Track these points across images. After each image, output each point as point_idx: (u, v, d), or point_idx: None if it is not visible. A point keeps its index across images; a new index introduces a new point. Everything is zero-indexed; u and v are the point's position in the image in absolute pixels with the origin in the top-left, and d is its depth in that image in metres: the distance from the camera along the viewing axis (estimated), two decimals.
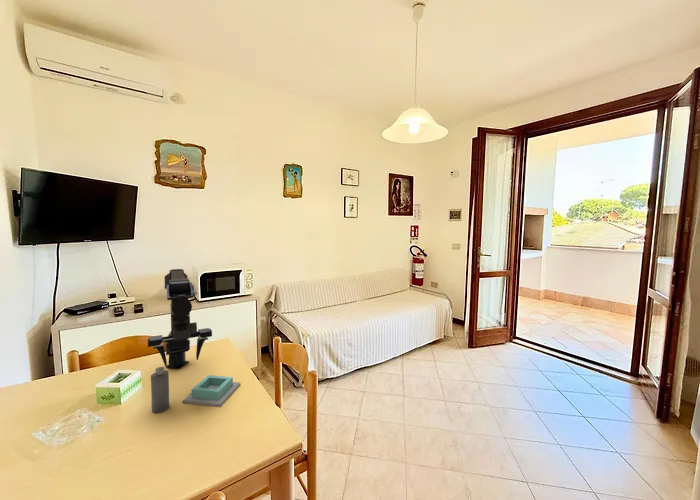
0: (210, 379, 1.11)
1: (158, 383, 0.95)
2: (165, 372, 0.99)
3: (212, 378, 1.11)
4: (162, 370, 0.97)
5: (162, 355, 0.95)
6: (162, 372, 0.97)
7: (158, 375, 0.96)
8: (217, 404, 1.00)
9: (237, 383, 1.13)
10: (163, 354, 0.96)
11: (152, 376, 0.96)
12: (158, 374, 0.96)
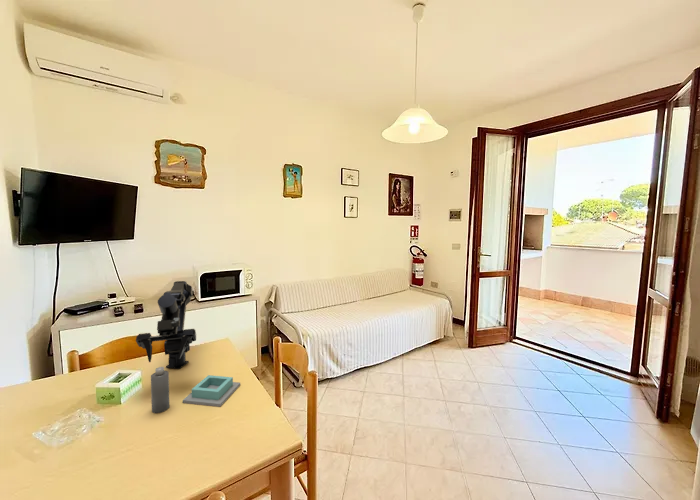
0: (210, 379, 1.11)
1: (158, 383, 0.95)
2: (165, 372, 0.99)
3: (212, 378, 1.11)
4: (162, 370, 0.97)
5: (147, 350, 1.04)
6: (162, 372, 0.97)
7: (158, 375, 0.96)
8: (217, 404, 1.00)
9: (237, 383, 1.13)
10: (148, 349, 1.04)
11: (152, 376, 0.96)
12: (158, 374, 0.96)
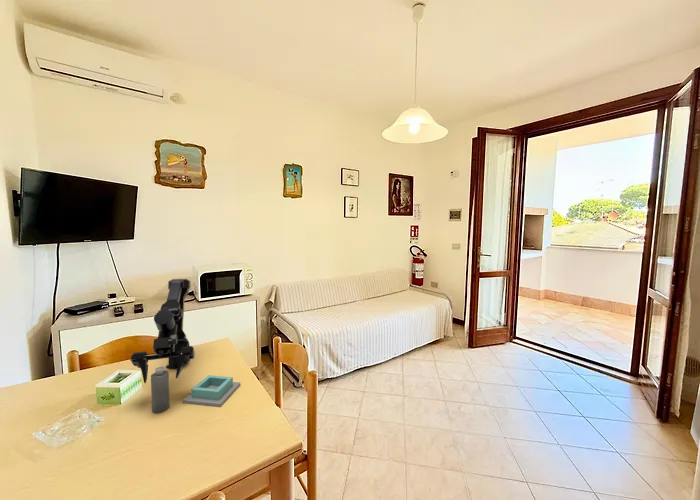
0: (210, 379, 1.11)
1: (158, 383, 0.95)
2: (165, 372, 0.99)
3: (212, 378, 1.11)
4: (162, 370, 0.97)
5: (142, 370, 0.98)
6: (162, 372, 0.97)
7: (158, 375, 0.96)
8: (217, 404, 1.00)
9: (237, 383, 1.13)
10: (144, 369, 0.99)
11: (152, 376, 0.96)
12: (158, 374, 0.96)
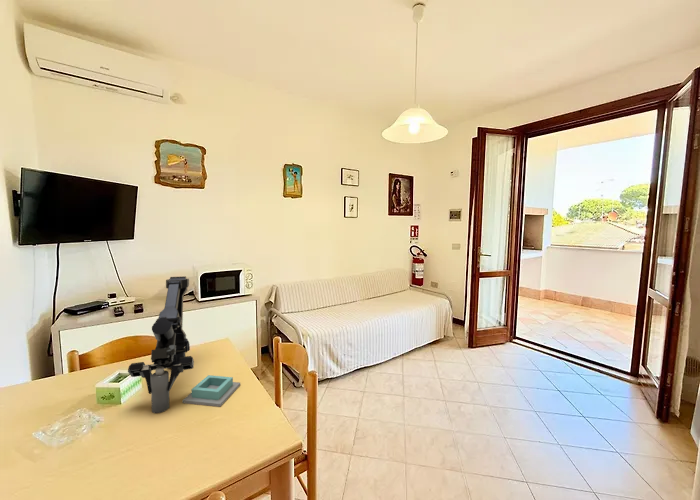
0: (210, 379, 1.11)
1: (158, 383, 0.95)
2: (165, 372, 0.99)
3: (212, 378, 1.11)
4: (162, 370, 0.97)
5: (147, 381, 0.96)
6: (162, 372, 0.97)
7: (158, 375, 0.96)
8: (217, 404, 1.00)
9: (237, 383, 1.13)
10: (148, 380, 0.97)
11: (152, 376, 0.96)
12: (158, 374, 0.96)
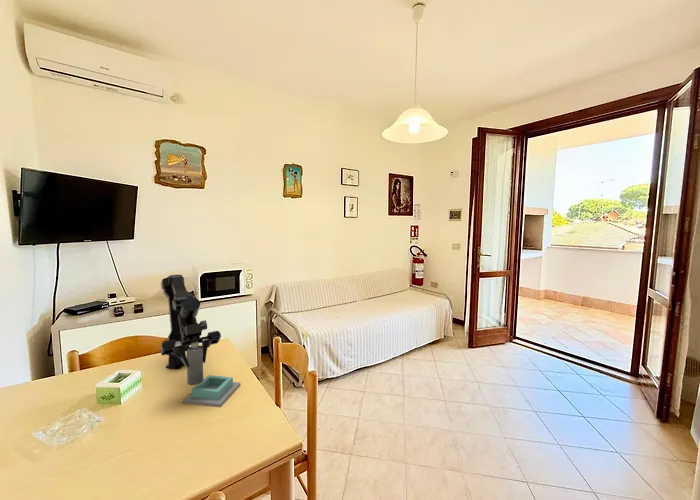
0: (210, 379, 1.11)
1: (197, 355, 1.00)
2: None
3: (212, 378, 1.11)
4: (198, 344, 1.02)
5: (183, 355, 1.00)
6: (198, 346, 1.02)
7: (195, 349, 1.01)
8: (217, 404, 1.00)
9: (237, 383, 1.13)
10: (184, 354, 1.01)
11: (189, 350, 1.00)
12: (195, 348, 1.01)
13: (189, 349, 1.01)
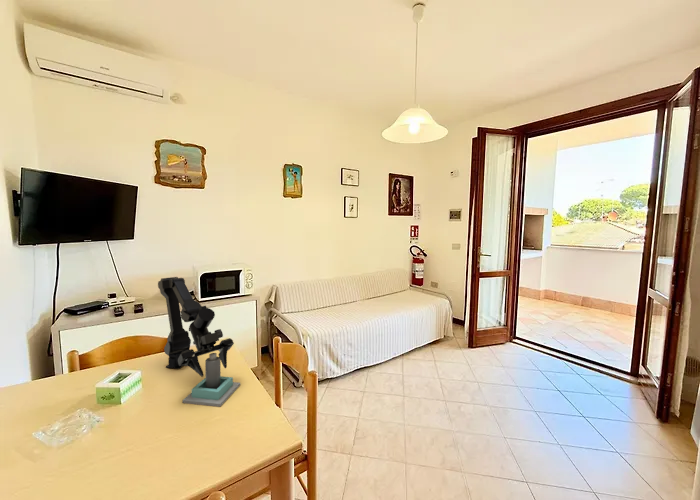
0: None
1: (216, 366, 1.05)
2: None
3: None
4: (216, 355, 1.07)
5: (197, 365, 1.03)
6: (216, 357, 1.07)
7: (214, 360, 1.06)
8: (217, 404, 1.00)
9: (237, 383, 1.13)
10: (198, 364, 1.03)
11: (208, 361, 1.05)
12: (214, 359, 1.06)
13: (208, 360, 1.06)
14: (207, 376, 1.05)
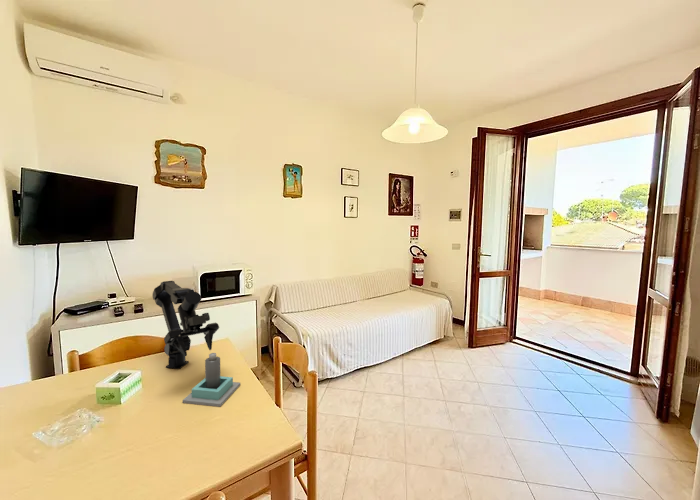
0: None
1: (216, 366, 1.05)
2: (215, 357, 1.08)
3: None
4: (215, 355, 1.07)
5: (182, 345, 1.08)
6: (216, 357, 1.07)
7: (213, 360, 1.06)
8: (217, 404, 1.00)
9: (237, 383, 1.13)
10: (182, 344, 1.08)
11: (208, 362, 1.05)
12: (213, 359, 1.06)
13: (207, 360, 1.06)
14: (207, 376, 1.05)
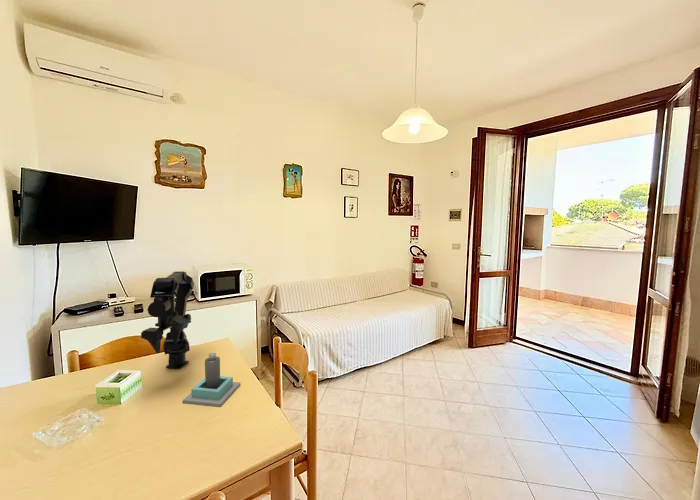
0: None
1: (216, 366, 1.05)
2: None
3: None
4: (215, 355, 1.07)
5: (159, 344, 1.09)
6: (215, 357, 1.07)
7: (213, 360, 1.06)
8: (217, 404, 1.00)
9: (237, 383, 1.13)
10: (159, 343, 1.10)
11: (208, 362, 1.05)
12: (213, 359, 1.06)
13: (207, 360, 1.06)
14: (207, 376, 1.05)
